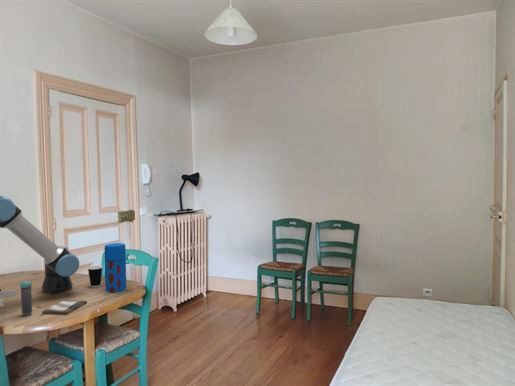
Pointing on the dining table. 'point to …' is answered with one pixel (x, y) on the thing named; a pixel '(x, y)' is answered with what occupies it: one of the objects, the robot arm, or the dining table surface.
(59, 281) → the robot arm
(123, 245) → the thermos
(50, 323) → the dining table surface
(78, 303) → the brown picture frame
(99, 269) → the dixie cup
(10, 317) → the dining table surface
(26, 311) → the marker
